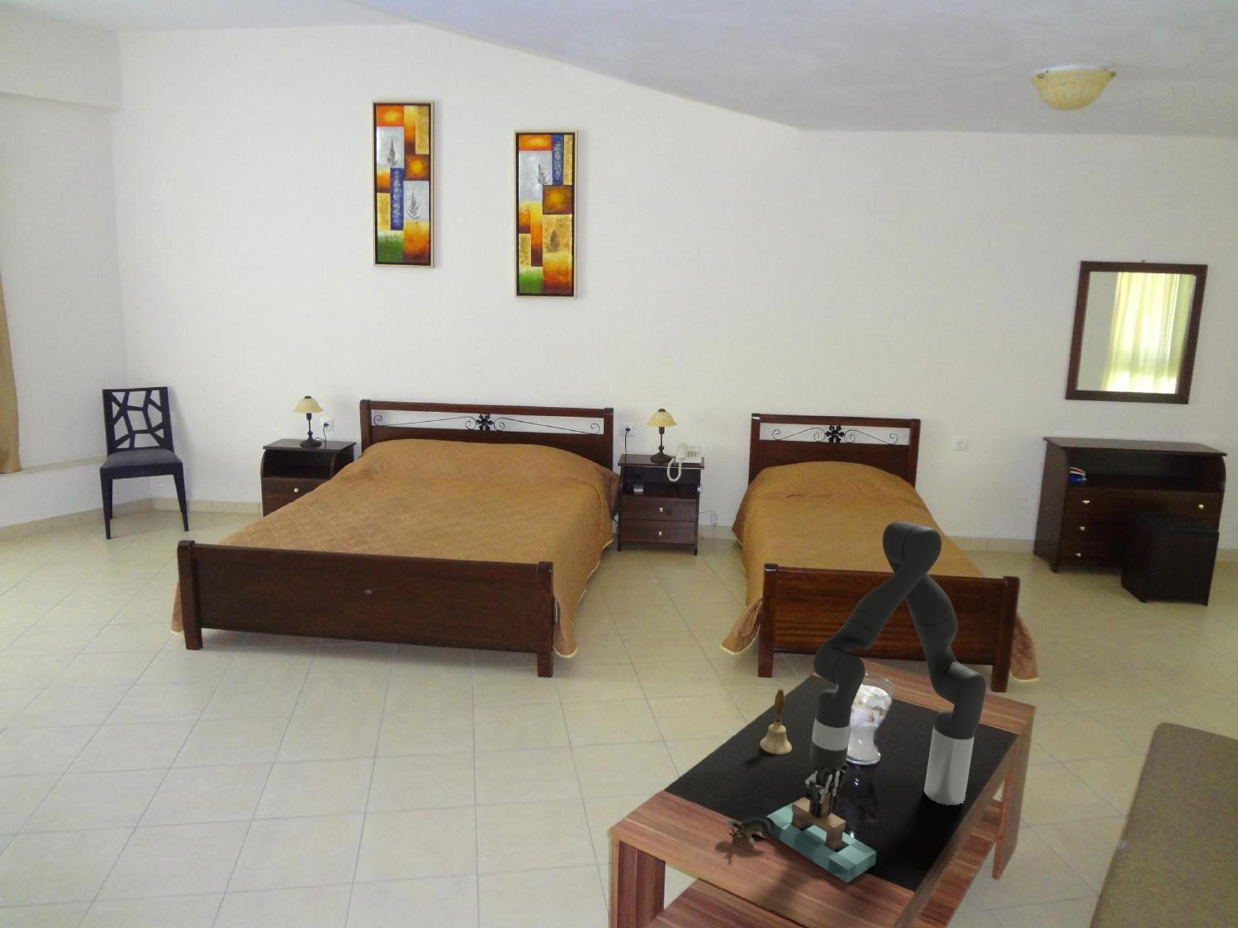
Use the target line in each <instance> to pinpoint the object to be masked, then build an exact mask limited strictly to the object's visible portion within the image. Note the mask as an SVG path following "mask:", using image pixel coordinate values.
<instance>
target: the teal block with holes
mask: <svg viewBox="0 0 1238 928" xmlns="http://www.w3.org/2000/svg"><path fill="white" fill-rule="evenodd" d="M794 802H795V801H794ZM794 802H793V801H792V802H791V803H788V805H785V806H783V807H781V808H779V809H777V810H776V811H774V812H772V813H770V814H768V815H766V816H767V817H769V818H771V820H773V822H775V825H776V827H775V828H774V829H773V831H770V832H767V833H768V834H770V835H771V836H773V837H774V838H776V839H778V840H779V841H781V842H782V843H783V844H785V845H787V846H788V847H790V848H791V849H793V850H795V851H796V852H797V853H800V854H801V855H802V856H804V857H806V858H807V859H808V860H810V861H811V862H813V863H815V864H816V865H818V866H819V867H821V868H823V869H824V870H826V871H827V872H829V873H830V874H832V875H834V876H836V878H838V879H839V880H841V881H843V882H844V883H846V884H847V883H849V882H851V881H852V880H854V879H855V878H857V877H858V876H859V875H861V874H863V873H864V872H866V871H867V870H869V869H871V867H873V866H875V865H876V859H877V858H876V857H877V851H876V850H874V849H873V848H871V847H869V846H867V845H866V844H864V843H863V842H861V841H859V840H857V839H856V838H854V837H852V836H850V835H849V834H847V833H846V832H844V831H843V837H842V845H841V846H840V847H838V848H836V849H835V850H836V851H835V850H831V849H830V848H828V847H826V846H825V843H826V835H827V832H825V831H823V830H822V829H820V828H818V827H817V826H815V825H813V824H812V823H810V822H808V823H807V825H806V826H804V827H802V828H801V829H797V828H796V827H794V826H793V825H792V816H793V812H792V803H794Z"/></svg>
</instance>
